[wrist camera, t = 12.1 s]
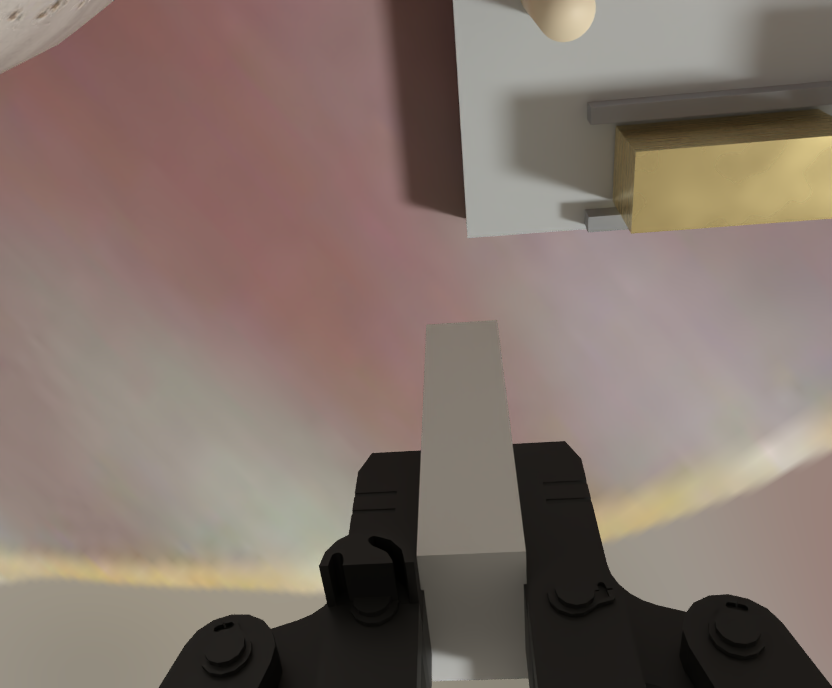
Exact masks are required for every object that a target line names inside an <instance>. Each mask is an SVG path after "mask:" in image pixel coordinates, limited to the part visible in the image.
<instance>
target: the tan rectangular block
mask: <svg viewBox="0 0 832 688" xmlns="http://www.w3.org/2000/svg"><path fill="white" fill-rule="evenodd" d="M612 201H613V203H614V204H615V206H616V208H617V210H618V211H619V213H620V215H621V217H622V218H623V220H624V222H625V224H626V225H627V227H628V229H629V231H630V232H631V233H644V232H658V231H671V230H684V229H698V228H711V227H724V226H738V225H751V224H765V223H778V222H791V221H805V220H818V219H831V218H832V116H830V115H829V114H827V113H825V112H823V111H821V110H819V109H810V110H798V111H786V112H774V113H763V114H751V115H739V116H727V117H715V118H704V119H692V120H680V121H668V122H656V123H645V124H633V125H621V126H616V129H615V152H614V176H613V199H612Z"/></svg>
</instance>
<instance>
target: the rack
mask: <svg viewBox="0 0 832 688" xmlns="http://www.w3.org/2000/svg"><path fill="white" fill-rule="evenodd" d="M453 16H454V32H455V48H456V64H457V80H458V96H459V112H460V129H461V145H462V161H463V177H464V193H465V209H466V224H467V236H468V238H474V237H488V236H501V235H514V234H527V233H541V232H554V231H567V230H580V229H587V231H588V232H599V231H612V230H625V229H628V227H627V225H626V224H625V222H624V220H623V218H622V217H621V215H620V213H619V211H618V210H617V208H616V206H615V204H614V203H613V201H612V199H613V176H614V152H615V129H616V126H621V125H633V124H645V123H656V122H668V121H680V120H692V119H704V118H715V117H727V116H739V115H751V114H763V113H774V112H786V111H798V110H810V109H819V110H821V111H823V112H825V113H827V114H829V115H830V116H832V0H453Z"/></svg>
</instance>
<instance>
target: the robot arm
mask: <svg viewBox="0 0 832 688" xmlns="http://www.w3.org/2000/svg"><path fill="white" fill-rule="evenodd" d="M352 511H353V514H352V516H351V523H350V530H349V535H347V536H345V537H343V538H341V539H339V540H337V541H336V542H335V543H334V544H333V545H332V546H331V547H330V548H329V549H328V550H327V551H326V552H325V554H324V556H323V558H322V560H321V563H320V565H319V568H320V573H321V577H322V582H323V586H324V591H325V595H326V600H327V604H326V605H325V606H324V607H322V608H321V609H319V610H318V611H316V612H315V613H313V614H312V615H309V616H307V617H305V618H302V619H300V620H298V621H294V622H291V623H288V624H285V625H282V626H279V627H276V628H272V629H270V628H269V627H268V625H267V624H266V623H265V622H264V621H263V620H261V619H259V618H256V617H253V616H251V615H229V616H226V617H223V618H219V619H216V620H213V621H212V622H210V623H209V624H207V625H206V626H204V627H203V628H201V629H199V630H198V631H197V632H196V633H195V634H194V635H193V637H192V638H191V639H190V640H189V641H188V642H187V644H186V645H185V646H184V648H183V649H182V651H181V653H180V654H179V656H178V657H177V659H176V661H175V662H174V664H173V666H172V667H171V669H170V670H169V672H168V674H167V675H166V677H165V678H164V680H163V682H162V683H161V685H160V687H159V688H431V686H432V681H431V680H433V681H451V680H452V681H453V680H488V679H521V678H529V686H530V688H832V686H831V685H830V683H829V682H828V681H827V680H826V678H825V677H824V676H823V674H822V673H821V672H820V671H819V669H818V668H817V667H816V665H815V664H814V663H813V662H812V661H811V659H810V658H809V656H808V655H807V654H806V653H805V651H804V650H803V649H802V647H801V646H800V645H799V644H798V642H797V641H796V640H795V638H794V637H793V636H792V635H791V633H790V632H789V631H788V630H787V628H786V627H785V626H784V624H783V623H782V622H781V621H780V620H779V619H778V618H777V617H776V616H775V615H773V614H772V613H771V612H770V611H769V610H768V609H767V608H765V607H763V606H761V605H759V604H757V603H755V602H753V601H751V600H749V599H746V598H742V597H738V596H733V595H729V594H726V595H711V596H707V597H705V598H703V599H701V600H698V601H696V602H694V603H693V604H692V606H691V607H690V608H689V610H688V611H687V612H684V611H680V610H676V609H671V608H666V607H663V606H658V605H655V604H652V603H649V602H646V601H643V600H641V599H639V598H637V597H636V596H634V595H632V594H630V593H629V592H628V591H626V590H625V589H624V588H622V586H620V585H619V584H618V583H617V581H616V580H615V579H614V577H613V576H612V575H611V573H610V570H609V568H608V565H607V562H606V558H605V554H604V550H603V546H602V542H601V538H600V534H599V530H598V526H597V521H596V517H595V513H594V509H593V505H592V502H591V497H590V493H589V489H588V485H587V483H586V477H585V473H584V468H583V464H582V460H581V458H580V457H579V456H578V455H577V454H576V453H575V452H574V451H573V449H572V448H571V447H570V446H569V445H568V444H567V443H566V442H565V441H560V442H541V443H522V444H512V436H511V428H510V420H509V412H508V404H507V396H506V388H505V380H504V372H503V364H502V357H501V349H500V341H499V333H498V325H497V320H492V321H477V322H461V323H446V324H430V325H426V348H425V371H424V394H423V417H422V441H421V451H404V452H385V453H372V454H371V455H370V457H369V458H368V459H367V461H366V462H365V464H364V465H363V466H362V468H361V469H360V470H359V472H358V477H357V483H356V490H355V497H354V503H353V510H352Z"/></svg>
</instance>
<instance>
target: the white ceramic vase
mask: <svg viewBox="0 0 832 688" xmlns="http://www.w3.org/2000/svg"><path fill="white" fill-rule="evenodd" d="M113 1H114V0H0V74H1V73H3V72H5V71H7V70H9V69H11V68H13V67H15V66H17V65H19V64H21V63H23V62H25V61H27V60H29V59H31V58H33V57H35V56H37V55H39V54H41V53H42V52H44V51H46V50H48V49H50V48H52V47H54V46H56V45H58V44H59V43H61V42H62V41H63V40H65V39H66V38H67V37H69V36H70V35H71V34H73V33H74V32H75V31H76V30H78V29H79V28H80V27H82V26H83V25H84V24H85V23H87V22H88V21H89V20H90V19H92V18H93V17H94V16H95V15H97V14H98V13H99V12H100V11H102V10H103V9H104V8H105V7H107V6H108V5H109V4H110V3H112V2H113Z"/></svg>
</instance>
